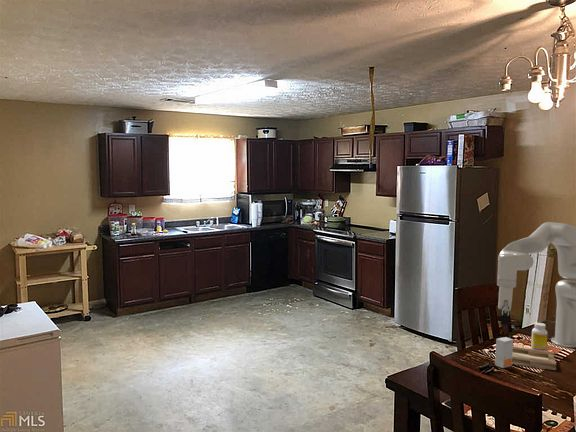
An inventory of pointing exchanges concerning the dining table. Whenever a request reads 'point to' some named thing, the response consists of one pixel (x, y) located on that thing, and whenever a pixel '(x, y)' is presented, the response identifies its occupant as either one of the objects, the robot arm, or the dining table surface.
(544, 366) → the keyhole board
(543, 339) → the supplement bottle
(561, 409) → the dining table surface
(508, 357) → the skincare box
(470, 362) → the dining table surface
